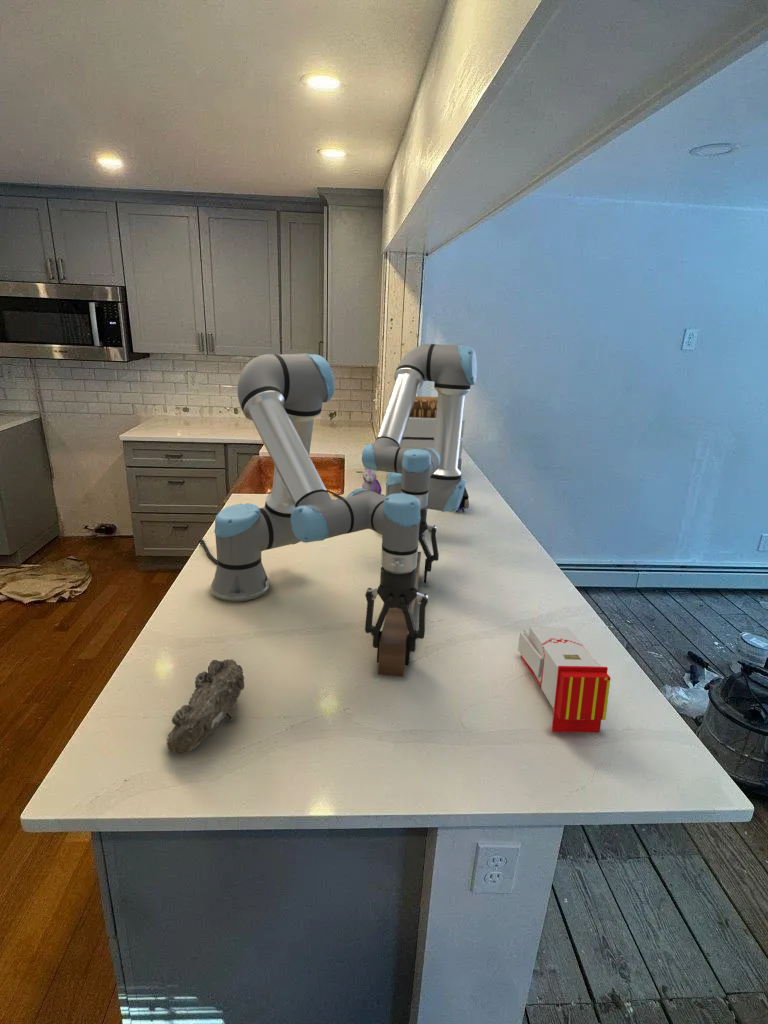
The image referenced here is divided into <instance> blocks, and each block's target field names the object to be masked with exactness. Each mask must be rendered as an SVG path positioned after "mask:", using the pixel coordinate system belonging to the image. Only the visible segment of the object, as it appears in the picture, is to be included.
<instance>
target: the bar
mask: <svg viewBox="0 0 768 1024" xmlns="http://www.w3.org/2000/svg"><path fill="white" fill-rule="evenodd" d="M421 560H422V551H418V555H417V567H416V568H415V569H416V583H415V587H416V590H417V591H418V589H419V583H420V582H419V581H420V575H421V562H422V561H421ZM416 602H417V599H416V598H415V599H414V600H413V601H412V602H411V603H410V609H411V613H412V616H413V617H414V614H415V607H416ZM381 631H382V634H381V638H380V642H379V659H378V663H377V675H381V676H389V677H397V678H398V677H399V678H404V675H405V670H406V666H405V660H406V644H407V636H408V634H409V632H408V628H407V624H406V620H405V617H404V614H403V611H402V609H399V608H389V610H388V612H387V614H386V617H385V619H384V622H383V625H382V629H381Z"/></svg>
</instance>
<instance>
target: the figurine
mask: <svg viewBox="0 0 768 1024" xmlns="http://www.w3.org/2000/svg"><path fill="white" fill-rule="evenodd" d="M362 479H363V483H362V485H361V488H363V489H367V490H371V491H374V492H376V493H377V494H380V495H382V486H381V483H380V481H379V480H378V479H377V474H376V471H375V470H371V469H366V468H365V467H364V472H363V474H362Z"/></svg>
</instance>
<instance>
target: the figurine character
mask: <svg viewBox="0 0 768 1024" xmlns="http://www.w3.org/2000/svg"><path fill="white" fill-rule="evenodd" d="M469 498H470V496H469V494H468V491H467V488H466V487H465V489H464V493H463V497H462V500H461V503H460V505H459V508H458V509H457V510H456V511H455V512H456V513H458V510H461V511H462V513H465V509H469V506H470V500H469Z"/></svg>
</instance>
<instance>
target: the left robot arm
mask: <svg viewBox="0 0 768 1024" xmlns="http://www.w3.org/2000/svg"><path fill="white" fill-rule="evenodd" d="M334 394H335V377H334V373H333V370H332V368H331V366H330V363H329V362H328V361H327V360H326V358H325V357H323V356H321V355H319V354H314V353H307V352H304V353H281V354H280V353H279V354H272V353H266V354H262V355H258V356H256V357H255V358H252V359H251V360H250V361H249V362H248V363H246V365H245V366H244V367H243V369H242V371H241V373H240V375H239V378H238V382H237V399H238V403H239V406H240V409H241V411H242V412H243V415H244V417H245V418H246V419H247V420H250V421H252V423H253V424H254V426H255V429H256V430H257V431H256V432H257V433H258V434H259V437H260V439H261V441H262V443H263V445H264V447H265V449H266V451H267V453H268V456H269V457H270V459H271V461H272V463H273V466H274V468H273V469H274V470H273V478H272V488H271V492H270V493H268V494H267V496H266V497H265V502H264V507H263V506H262V507H259V506H258V505H257V504H254V503H244V504H243V503H237V504H233V505H230V506H229V505H228V506H227V507H224V508H222V509H221V510H219V512H218V513H217V514H216V516H215V519H214V535H215V549H216V558H215V557H214V556H213V555H212V554H211V552H210V550H209V548H208V546H207V544H206V541H204V539H202V538H200V539H199V540H198V543H199V544H201V545H202V547H203V549H204V551H205V553H206V555H207V557H208V558H209V559H210V560H211V561H212V562H214V563H215V564H217V566H216V569H215V573H214V577H213V580H212V583H211V593H212V595H213V596H214V598H216V599H217V600H221V601H224V602H228V603H244V602H250V601H254V600H256V599H259V598H261V597H263V596H265V595H266V594H267V593H268V591H269V589H270V578H269V577H268V575H267V572H266V570H265V568H264V565H263V563H262V552H264V551H267V550H268V551H269V550H273V549H277V548H282V547H286V546H290V545H296V544H298V543H299V544H300V543H301V542H302V543H305V544H306V543H314V542H322V541H325V540H327V539H330V538H334V537H339V536H342V535H348V534H352V533H356V532H361V531H365V530H371V531H373V532H375V533H378V534H380V535H381V534H382V535H381V555H380V565H381V567H380V574H379V575H380V577H379V585H378V587H377V588H372V587H368V588H367V589H366V592H365V594H364V595H365V599H366V613H365V624H364V632H365V633H366V634H371V635H372V647H373V648H374V649H377V650H376V663H377V664H378V659H379V642H380V638H381V634H382V628H383V625H384V622H385V618H386V614H387V612H388V610H389V608H399V609H402V611H403V614H404V617H405V620H406V624H407V628H408V632H409V634H408V636H407V644H406V660H405V667H409V665H410V658H411V653H414V652H415V651H416V647H417V646H416V643H417V640H418V639H420V640H424V638H425V634H426V608H427V605H428V602H429V594H428V593H426V592H425V593H420V592H418V589H417V590H416V587H415V583H416V569H415V568H416V567H417V555H418V552H419V540H418V539H419V526H420V520H421V516H420V501H419V500H418V498H416V497H415V496H413V495H407V494H403V493H396V494H390V495H388V496H387V497H386V496H384V495H382V494H381V495H380V494H377V493H376V492H374V491H371V490H367V489H363V488H362V487H360V488H356V489H354V490H353V491H351V492H350V493H349V494H348V495H347V497H344V498H342V499H341V498H336V499H333V498H332V497H331V495H330V493H329V492H328V491H327V490H328V489H327V488H326V486H325V484H324V482H323V480H322V478H321V476H320V474H319V472H318V470H317V468H316V466H315V464H314V463H313V461H312V459H311V456H310V453H311V452H310V451H311V446H312V445H311V444H312V439H313V438H312V437H313V430H314V423H315V421H314V420H315V418H317V417H318V416H320V415H321V412H322V410H323V409H322V408H323V403H328V402H329V401H330V400H331V399H332V398H333V397H334ZM326 489H327V490H326ZM201 542H202V543H201ZM377 595H378V596H379V598H380V599H381V601H382V602H383V605H382V607H381V611H380V613H379V615H378V618H377V620H376V622H375V624H374V625H373V619H374V618H373V617H374V609H375V608H374V607H375V600H376V599H377ZM415 598H416V602H417V603H416V604H417V605H419V608H418V629H416V624H415V621H414V615H413V616H412V613H411V609H410V603H411V602H412V601H413V600H414V599H415Z"/></svg>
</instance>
